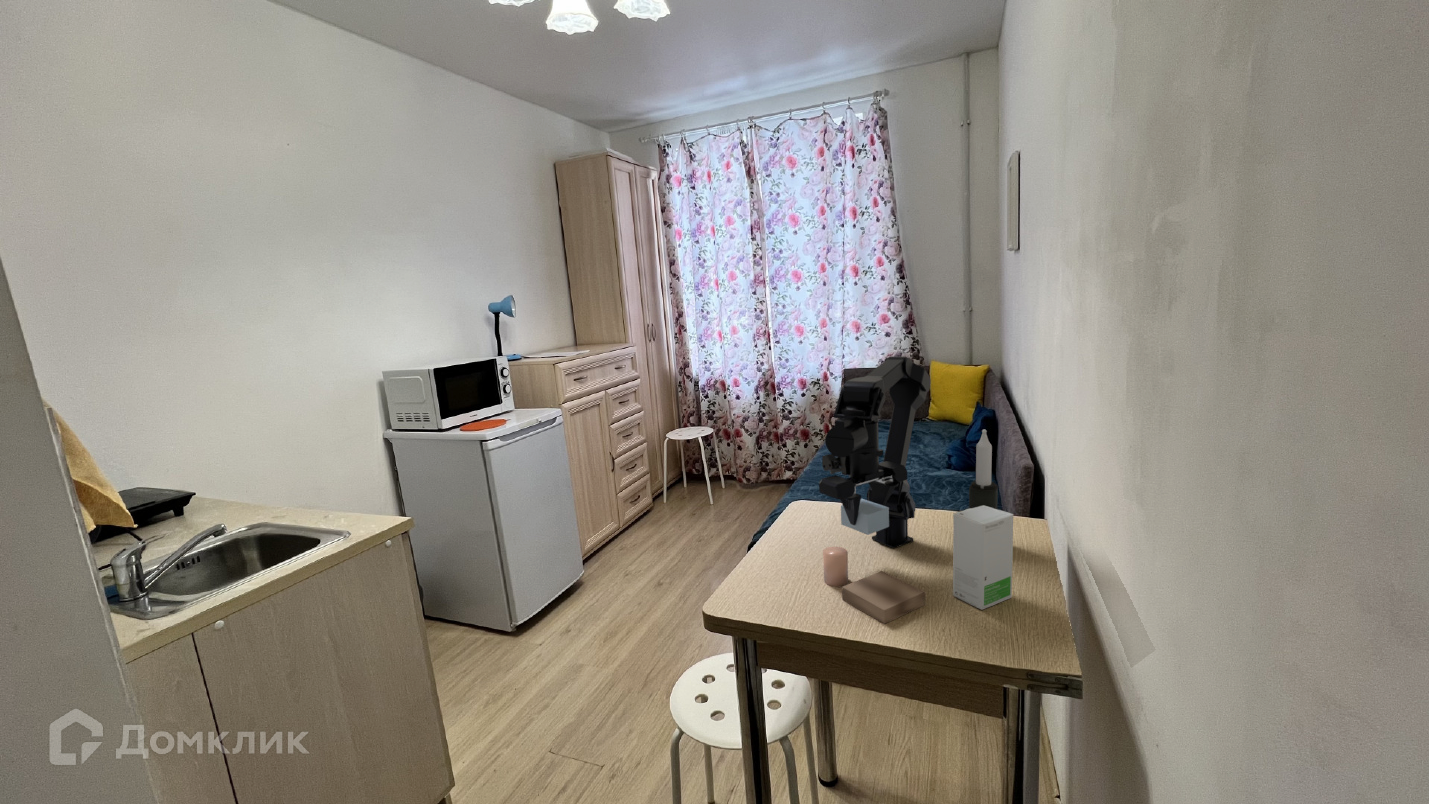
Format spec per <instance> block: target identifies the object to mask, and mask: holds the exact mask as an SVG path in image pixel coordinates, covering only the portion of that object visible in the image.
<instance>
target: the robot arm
mask: <svg viewBox="0 0 1429 804" xmlns="http://www.w3.org/2000/svg"><path fill="white" fill-rule="evenodd" d="M930 389H931V377H930V375H929V374H928V372H927V370H926V368H924V367H923V366H920V365H919V364H916V363H915V362H913V360H912V359H911V358H910V357H908V356H902V355H901V356H897V355H896V356H895V355H894V356H888V357H885V359H884V360H883V362H882V363H881V364H879V365H878V366H877V367H876V368H875V369H874V370H873V369H872V370H871V372H869V374H867V375H865V376H861V377H860V376H859V377H854V378H851V379H848V380H846V381H845V383H844V384H843V386H842V387H841V388H840V392H839V395H838V400H837V402H836V407H835V409H834V413H833V414H834V415H833V418H834V419H835V420H834V426H833V427H831V428H830V429H829V430H828V431H827V433H826V436H825V438H824V442H825V445H826V446H825V447H826V449H827V450H828V452H829V453H830V454H829V453H828V454H826V455H823V456H822V458H821V460H822V461H821V465H822V468H823V470H824V471H825V472H830V476H828V477H824V478H821V479H820V481H819V482H818V491H819V492H818V493H819V494H823V495H825V496H828V497H830V498H833V499H836V500H840V502H841V505H843V507H844V509H845V512H846V514H847V517H848V519H849V522H850V524H852V525H856V521H857V517H858V511H859V505H860V500H861V499H862V495H861V494H859V493H857V487H859V486H863V485H866V484H868V485H869V487H868V488H867V492H866V500H867V501H870V502H874V503H877V504H880V505H883V506H886V507H889V527H887V528H884V529H882V530H879V531H877V532H875V535H872V536H871V539H872V540H873V541H875V542H878V543H880V544H882V545H885V546H887V547H890V548H892V549H896V548H898V547H900V546H903V545H906V544H908V543H911V542H913V541H914V538H913V537H911V536H909V535H908V533H909V531H908V527H909V525H908V524H909V523H908V520H909V519H914V518H915V512H916V503H915V501H914V499H913V497H912V495H911V494H910V491H911V490H910V489H911V488H910V484H909V482H908V470H907V467H906V466H907V460H908V456H909V449H910V444H911V438H912V433H913V428H914V422H915V421H914V420H915V416H916V412H917V410H918V409H919V408H920V407H921V406H922V405H923V404H924V403H925V401H926V398H927V396H928V395H927V394H928V392H929V391H930ZM886 392H888V393H889V394H888V395H889V397H890V399H891V401H892V404H893V409H892V412H891V413H892V414H891V419H890V426H889V430H888V435H887V440H886V445H885V450H883V449H881V448H879V419H880V418H881V417H882V415H881V412H882V409H883V406H884V403H885V402H886V396H887V395H886ZM881 456H883V460H882V462H880V461H879V459H880V457H881ZM840 472H841V475H843V476H848V477H847V478H845V477H843V476H839V475H836V474H835V473H840ZM834 474H835V475H834ZM831 475H832V476H831Z"/></svg>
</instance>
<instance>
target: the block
mask: <svg viewBox="0 0 1429 804" xmlns="http://www.w3.org/2000/svg"><path fill="white" fill-rule="evenodd" d="M840 522H841V523H840V524H841V526H844V527H847V528H849V529H852V530H854V531H856V532H859V533H862V534H864V535H871V534H874V533H876V532H877V531H879V530H882V529H884V528H887V527H889V507H886V506H883V505H880V504H877V503H874V502H870V501H867V499H864V498H861V500H860V505H859V511H858V517H857V521H856V525H852V524H850V522H849V519H848V517H847V514H846V512H845V509H844V507H843V505H842V504H841V505H840Z"/></svg>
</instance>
